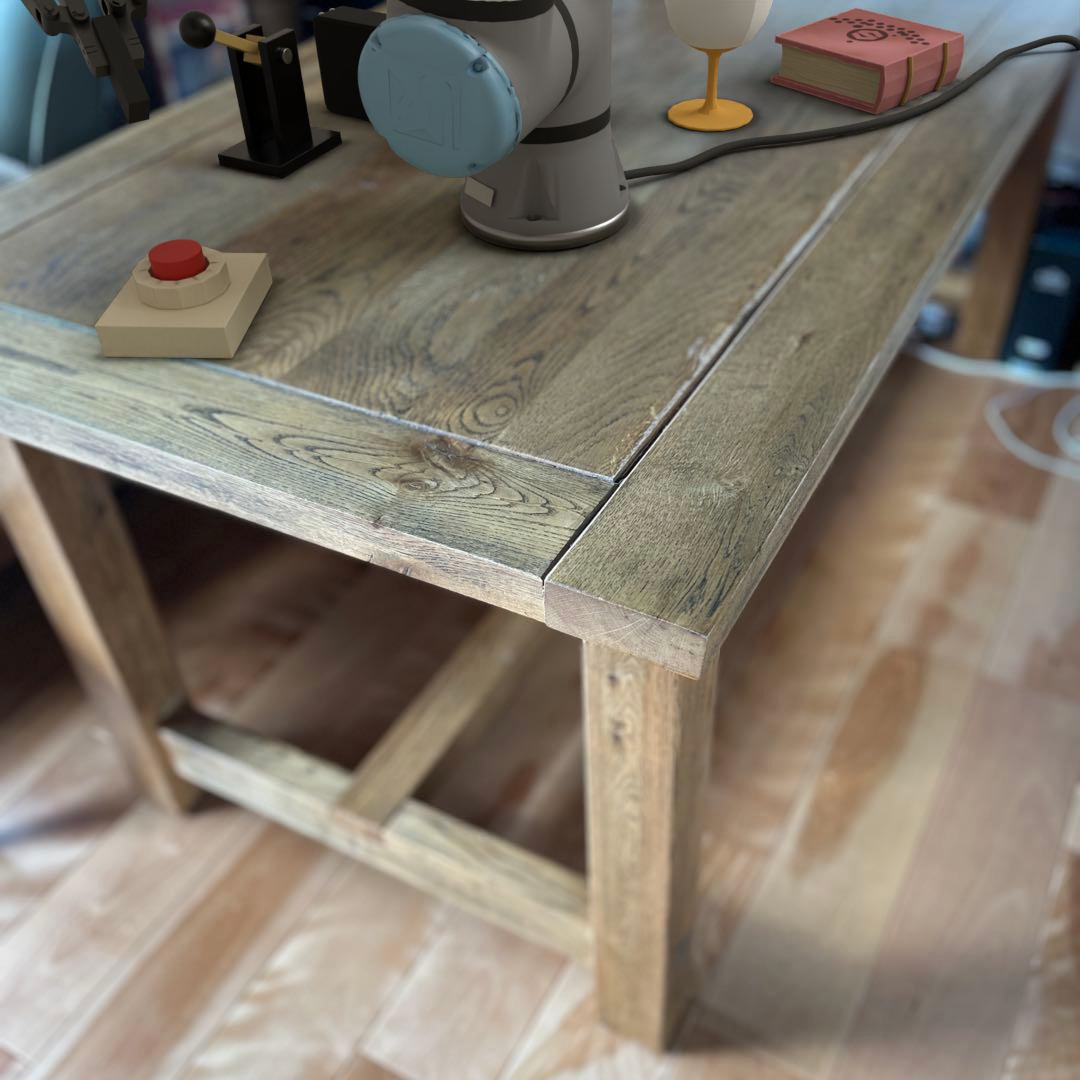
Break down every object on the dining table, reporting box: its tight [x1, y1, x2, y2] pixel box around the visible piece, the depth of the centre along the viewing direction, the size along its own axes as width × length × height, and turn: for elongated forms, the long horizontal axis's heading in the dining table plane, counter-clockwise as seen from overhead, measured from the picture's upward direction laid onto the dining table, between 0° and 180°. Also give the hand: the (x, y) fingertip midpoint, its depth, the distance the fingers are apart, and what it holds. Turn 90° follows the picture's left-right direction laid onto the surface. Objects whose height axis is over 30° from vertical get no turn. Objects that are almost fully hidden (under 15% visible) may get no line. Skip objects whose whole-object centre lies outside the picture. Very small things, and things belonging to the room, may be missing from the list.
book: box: [770, 7, 965, 115], centre depth 123 cm, size 14×15×5 cm
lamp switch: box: [217, 23, 343, 179], centre depth 110 cm, size 10×8×12 cm
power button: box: [147, 238, 206, 281], centre depth 85 cm, size 4×4×2 cm
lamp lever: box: [178, 9, 266, 67], centre depth 103 cm, size 12×3×3 cm, turn 152°
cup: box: [664, 0, 774, 132], centre depth 113 cm, size 12×12×17 cm
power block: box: [94, 246, 273, 359], centre depth 87 cm, size 12×10×4 cm
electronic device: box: [312, 5, 387, 122], centre depth 119 cm, size 4×10×10 cm, turn 56°
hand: (139, 111), depth 78 cm, fingers closed
